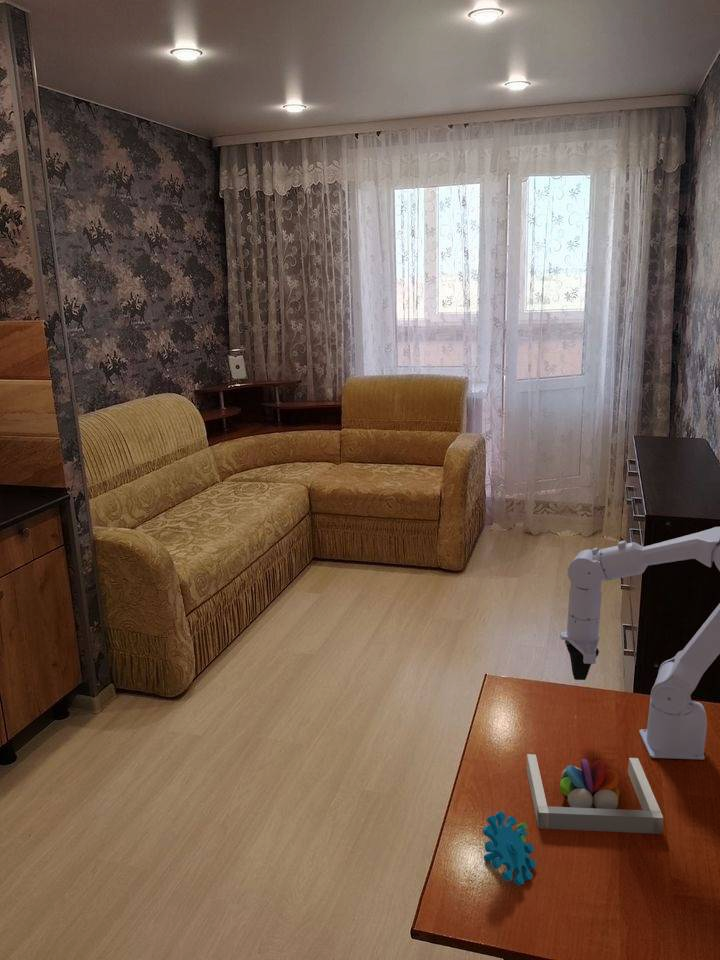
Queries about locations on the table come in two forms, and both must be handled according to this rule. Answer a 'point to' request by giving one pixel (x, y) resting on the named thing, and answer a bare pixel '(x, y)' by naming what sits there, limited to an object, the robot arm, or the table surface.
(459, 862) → the table surface
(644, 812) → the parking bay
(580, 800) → the rainbow petal cluster
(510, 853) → the teal knobby piece
